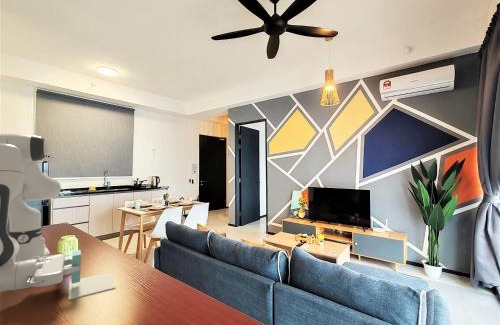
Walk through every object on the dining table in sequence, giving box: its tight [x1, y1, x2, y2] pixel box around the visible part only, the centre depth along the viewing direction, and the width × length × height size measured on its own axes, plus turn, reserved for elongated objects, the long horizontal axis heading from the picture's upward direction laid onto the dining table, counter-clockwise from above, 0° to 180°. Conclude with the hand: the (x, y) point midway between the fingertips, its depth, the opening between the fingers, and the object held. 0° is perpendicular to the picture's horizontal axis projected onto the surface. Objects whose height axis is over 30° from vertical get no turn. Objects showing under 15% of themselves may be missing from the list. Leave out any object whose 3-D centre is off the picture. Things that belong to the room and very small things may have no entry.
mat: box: [68, 271, 116, 301], centre depth 91 cm, size 15×14×1 cm
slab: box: [70, 249, 82, 284], centre depth 89 cm, size 6×3×10 cm, turn 36°
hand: (79, 264), depth 90 cm, fingers closed on slab, 6 cm apart
